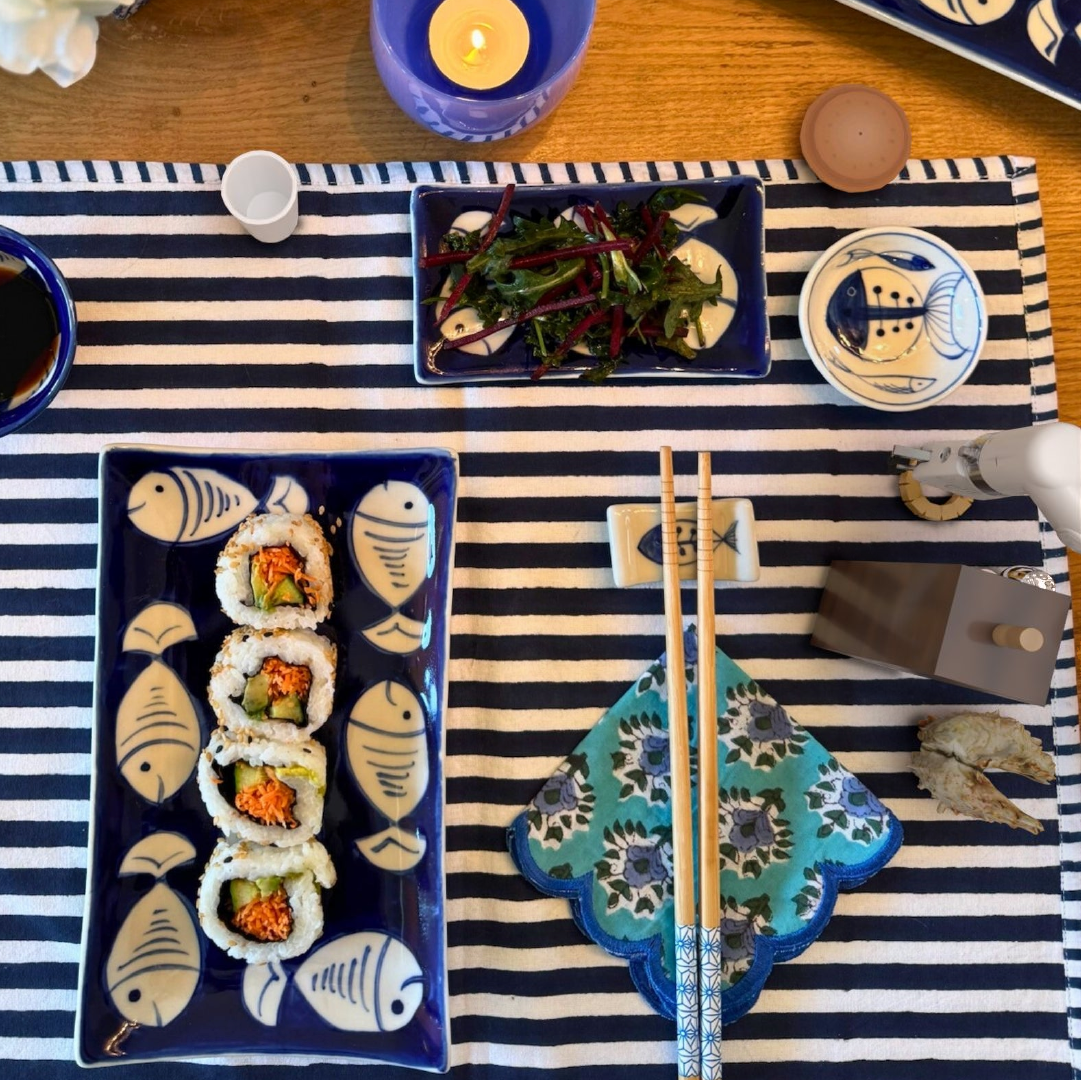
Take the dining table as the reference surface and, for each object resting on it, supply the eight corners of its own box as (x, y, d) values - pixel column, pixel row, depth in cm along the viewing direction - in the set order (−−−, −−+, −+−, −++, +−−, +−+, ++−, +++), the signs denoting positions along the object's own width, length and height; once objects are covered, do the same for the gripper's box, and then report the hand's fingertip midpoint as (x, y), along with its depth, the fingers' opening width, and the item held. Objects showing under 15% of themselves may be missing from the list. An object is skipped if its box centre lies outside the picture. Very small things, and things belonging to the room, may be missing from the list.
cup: (222, 215, 147) (204, 184, 134) (274, 169, 148) (261, 134, 135) (269, 266, 147) (256, 240, 134) (321, 220, 147) (313, 189, 134)
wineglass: (994, 613, 144) (1047, 619, 132) (957, 593, 144) (1006, 597, 132) (1013, 577, 144) (1068, 580, 132) (976, 556, 144) (1027, 557, 132)
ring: (975, 462, 145) (983, 461, 143) (958, 528, 144) (966, 528, 142) (908, 442, 145) (916, 441, 143) (891, 508, 145) (898, 508, 143)
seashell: (1072, 865, 123) (1114, 749, 126) (933, 788, 124) (979, 676, 128) (985, 847, 140) (1025, 746, 144) (865, 780, 142) (907, 682, 145)
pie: (884, 213, 148) (901, 202, 143) (779, 183, 148) (791, 170, 143) (911, 112, 149) (929, 96, 144) (806, 82, 149) (820, 66, 144)
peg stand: (915, 584, 144) (1103, 599, 105) (893, 669, 143) (1075, 715, 104) (831, 560, 144) (988, 565, 105) (809, 644, 143) (959, 680, 104)
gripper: (922, 473, 122) (857, 481, 139) (1064, 515, 122) (982, 518, 139) (938, 412, 122) (871, 427, 139) (1080, 454, 122) (996, 464, 139)
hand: (927, 472), depth 139 cm, fingers open, 9 cm apart
